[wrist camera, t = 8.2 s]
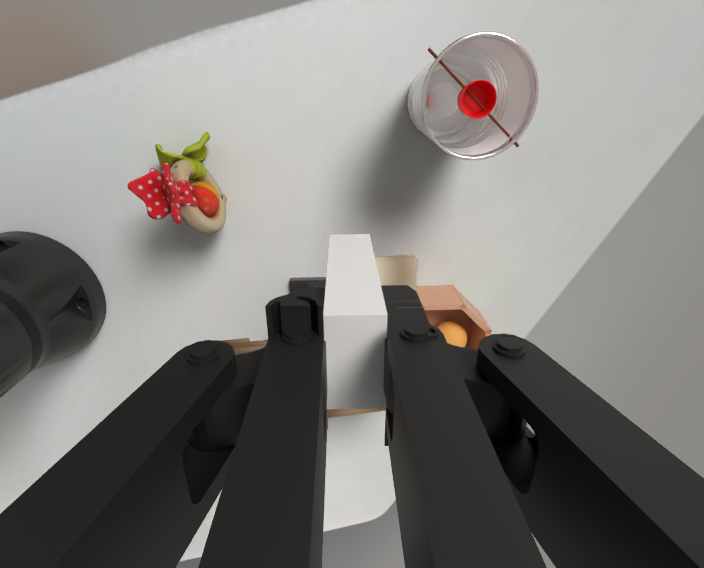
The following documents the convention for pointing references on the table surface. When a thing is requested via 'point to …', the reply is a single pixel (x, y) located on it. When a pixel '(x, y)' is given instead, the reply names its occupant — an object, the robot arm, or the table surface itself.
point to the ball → (453, 333)
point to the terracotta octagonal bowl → (453, 311)
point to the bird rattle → (183, 189)
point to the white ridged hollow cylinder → (475, 96)
